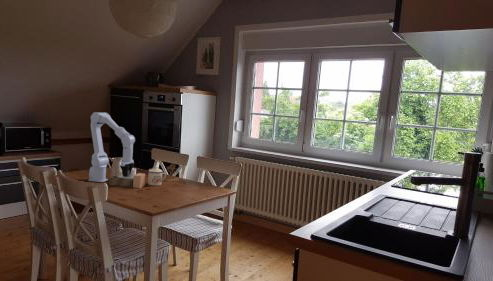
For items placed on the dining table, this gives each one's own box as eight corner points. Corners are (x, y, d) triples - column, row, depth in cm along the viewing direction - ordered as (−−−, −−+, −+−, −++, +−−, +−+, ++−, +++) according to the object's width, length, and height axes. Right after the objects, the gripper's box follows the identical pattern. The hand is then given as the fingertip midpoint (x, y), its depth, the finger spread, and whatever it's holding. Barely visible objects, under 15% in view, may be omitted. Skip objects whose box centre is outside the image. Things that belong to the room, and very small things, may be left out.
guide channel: (108, 184, 216) (109, 177, 216) (112, 182, 222) (113, 175, 221) (132, 186, 215) (132, 179, 215) (135, 184, 221) (136, 178, 220)
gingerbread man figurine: (176, 179, 246) (177, 163, 245) (178, 180, 243) (180, 164, 242) (164, 180, 240) (165, 163, 239) (167, 181, 237) (168, 164, 236)
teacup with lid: (151, 186, 221) (152, 168, 220) (145, 183, 227) (146, 165, 226) (168, 184, 229) (169, 167, 228) (161, 181, 235) (162, 164, 234)
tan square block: (132, 187, 214) (133, 175, 213) (137, 184, 222) (138, 173, 221) (140, 188, 213) (140, 176, 213) (144, 185, 221) (145, 173, 221)
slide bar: (117, 180, 217) (118, 169, 216) (119, 179, 220) (120, 169, 219) (139, 183, 216) (139, 171, 215) (141, 182, 219) (141, 171, 218)
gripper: (129, 156, 209) (128, 178, 210) (138, 153, 223) (137, 174, 225) (117, 155, 209) (116, 177, 211) (127, 152, 224) (126, 173, 225)
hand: (126, 175), depth 218 cm, fingers open, 5 cm apart
